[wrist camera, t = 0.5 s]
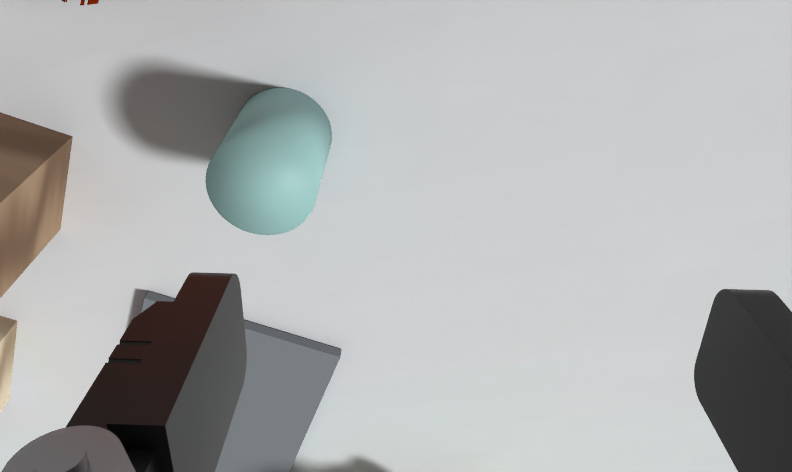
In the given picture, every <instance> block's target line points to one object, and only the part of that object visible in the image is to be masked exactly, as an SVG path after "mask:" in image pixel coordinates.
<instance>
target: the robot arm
mask: <svg viewBox="0 0 792 472" xmlns="http://www.w3.org/2000/svg"><path fill="white" fill-rule="evenodd" d="M246 364H247V348H246V337H245V328H244V318H243V308H242V299H241V289H240V282H239V278H238V276H237V275H236V274H226V273H190V274H189V275H188V277H187V279H186V280H185V282H184V284H183V286H182V288H181V289H180V291H179V293H178V295H177V297H176V299H175V300H174V302H170V301H157V302H155V303H154V304H153V305H151V306H150V307H149V308H147V309H146V310H145V311H143V312H142V313H141V314H139V315H138V316H137V317H135V318H134V319H133V320H132V322H131V323H130V325H129V326H128V328H127V330H126V331H125V333H124V334H123V336H122V338H121V339H120V344H119V345H117V346H116V347H115V349H114V351H113V352H112V354H111V355H110V357H109V362H108V363H105V365H104V367H103V368H102V370H101V371H100V373H99V375H98V376H97V378H96V380H95V381H94V383H93V384H92V386H91V388H90V389H89V391H88V392H87V394H86V396H85V397H84V399H83V400H82V402H81V404H80V405H79V407H78V408H77V410H76V412H75V413H74V415H73V416H72V418H71V420H70V421H69V423H68V425H67V426H66V428H62V429H58V430H55V431H52V432H49V433H47V434H45V435H43V436H40V437H38V438H37V439H35V440H33V441H31V442H30V443H28V444H27V445H25V446H24V447H23V448H21V449H20V450H19V451H18V452H17V453H16V454H15V455H13V457H12V458H11V459H10V460H9V461H8V462H7V464H6V465H5V467H4V469H3V470H2V472H215V470H216V467H217V464H218V461H219V458H220V455H221V452H222V448H223V445H224V442H225V439H226V436H227V433H228V430H229V427H230V424H231V421H232V418H233V415H234V412H235V409H236V406H237V403H238V400H239V396H240V393H241V390H242V387H243V384H244V379H245V373H246ZM694 381H695V388H696V393H697V396H698V399H699V401H700V403H701V405H702V406H703V408H704V410H705V412H706V414H707V416H708V417H709V419H710V421H711V423H712V425H713V427H714V428H715V430H716V432H717V434H718V436H719V438H720V439H721V441H722V443H723V445H724V447H725V448H726V450H727V452H728V454H729V456H730V458H731V459H732V461H733V463H734V465H735V467H736V469H737V470H738V472H792V312H791V311H790V309H789V308H788V307H787V306H786V305H785V304H784V303H783V301H782V300H781V299H780V298H779V297H778V296H777V295H776V294H775V293H774V292H772V291H769V290H737V289H723V290H721V291H720V292H718V294H717V295H716V297H715V299H714V302H713V305H712V308H711V312H710V315H709V318H708V322H707V325H706V329H705V332H704V335H703V339H702V342H701V346H700V349H699V352H698V356H697V359H696V363H695V369H694Z"/></svg>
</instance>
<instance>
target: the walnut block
mask: <svg viewBox="0 0 792 472" xmlns="http://www.w3.org/2000/svg"><path fill="white" fill-rule="evenodd" d="M71 144H72V136H69V135H66V134H63V133H60V132H57V131H54V130H51V129H48V128H45V127H42V126H39V125H36V124H33V123H30V122H27V121H24V120H21V119H18V118H15V117H12V116H9V115H6V114H3V113H0V298H1V297H2V296H3V294H4V293H5V292H6V291H7V290H8V289H9V288H10V286H11V285H12V284H13V283H14V282H15V281H16V279H17V278H18V277H19V276H20V275H21V274H22V273H23V271H24V270H25V269H26V268H27V267H28V266H29V265H30V263H31V262H32V261H33V260H34V259H35V258H36V256H37V255H38V254H39V253H40V252H41V251H42V250H43V248H44V247H45V246H46V245H47V244H48V243H49V242H50V240H51V239H52V238H53V237H54V236H55V235H56V234H57V232H58V231H59V230H60V228H61V220H62V212H63V205H64V197H65V189H66V182H67V174H68V167H69V159H70V151H71Z"/></svg>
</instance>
